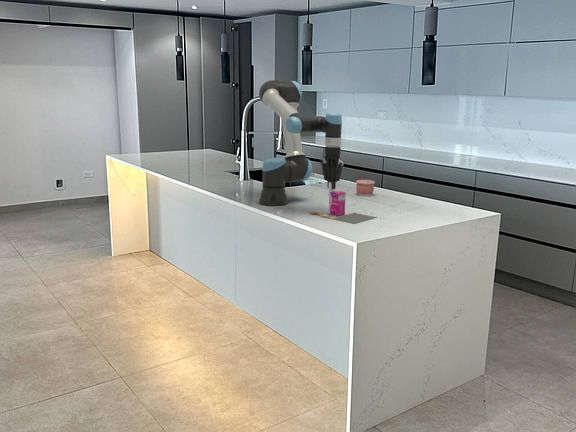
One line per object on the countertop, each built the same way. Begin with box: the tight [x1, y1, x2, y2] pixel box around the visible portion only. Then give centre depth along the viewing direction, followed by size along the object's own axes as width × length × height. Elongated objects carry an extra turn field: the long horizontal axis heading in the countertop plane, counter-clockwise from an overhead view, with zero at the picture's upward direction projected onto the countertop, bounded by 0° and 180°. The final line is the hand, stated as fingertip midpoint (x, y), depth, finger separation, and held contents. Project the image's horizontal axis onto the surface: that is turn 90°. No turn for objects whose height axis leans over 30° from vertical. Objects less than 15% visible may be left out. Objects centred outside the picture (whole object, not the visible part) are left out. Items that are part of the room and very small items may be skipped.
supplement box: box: [328, 190, 347, 217], centre depth 266 cm, size 6×6×12 cm
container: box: [355, 179, 376, 197], centre depth 318 cm, size 10×10×8 cm
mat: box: [332, 212, 378, 225], centre depth 261 cm, size 13×18×1 cm
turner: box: [308, 210, 337, 220], centre depth 264 cm, size 16×3×1 cm, turn 48°
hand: (331, 195), depth 268 cm, fingers closed
